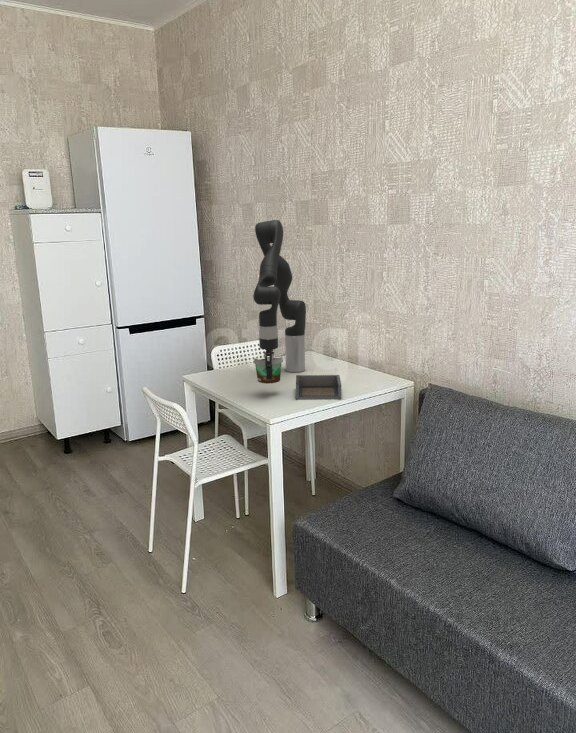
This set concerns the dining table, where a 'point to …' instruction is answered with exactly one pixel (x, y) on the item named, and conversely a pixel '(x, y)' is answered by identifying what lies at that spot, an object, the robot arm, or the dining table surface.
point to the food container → (263, 372)
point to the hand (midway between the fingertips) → (269, 376)
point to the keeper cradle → (318, 387)
